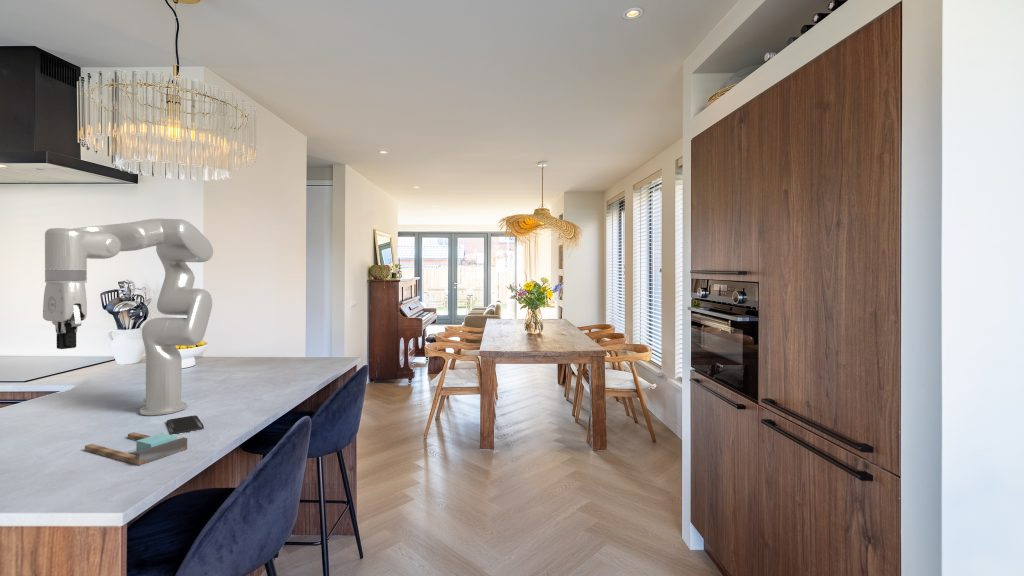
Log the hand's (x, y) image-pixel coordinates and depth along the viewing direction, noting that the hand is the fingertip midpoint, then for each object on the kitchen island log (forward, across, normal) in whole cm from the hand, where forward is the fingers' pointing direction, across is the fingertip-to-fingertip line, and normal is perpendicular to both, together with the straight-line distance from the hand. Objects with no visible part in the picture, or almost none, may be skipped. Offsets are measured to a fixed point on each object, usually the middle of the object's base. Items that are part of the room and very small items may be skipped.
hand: (66, 348), depth 112 cm
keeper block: (+27, +21, +9) cm, 36 cm away
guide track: (+27, +14, +8) cm, 32 cm away
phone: (+28, +6, +25) cm, 38 cm away
